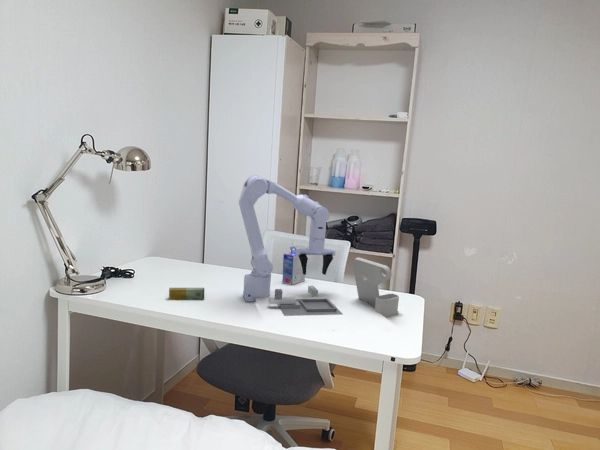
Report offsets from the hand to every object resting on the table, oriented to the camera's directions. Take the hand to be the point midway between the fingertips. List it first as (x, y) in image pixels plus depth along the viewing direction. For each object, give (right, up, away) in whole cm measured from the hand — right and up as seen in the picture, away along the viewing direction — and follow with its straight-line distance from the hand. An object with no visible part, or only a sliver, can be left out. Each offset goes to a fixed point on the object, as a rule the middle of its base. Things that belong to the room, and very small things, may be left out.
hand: (314, 274), depth 171 cm
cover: (-1, -9, +1) cm, 10 cm away
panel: (-3, -11, -13) cm, 18 cm away
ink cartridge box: (-8, -6, +21) cm, 23 cm away
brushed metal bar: (-11, -8, -16) cm, 21 cm away
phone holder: (+21, -12, -6) cm, 25 cm away
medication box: (-45, -8, -10) cm, 47 cm away
